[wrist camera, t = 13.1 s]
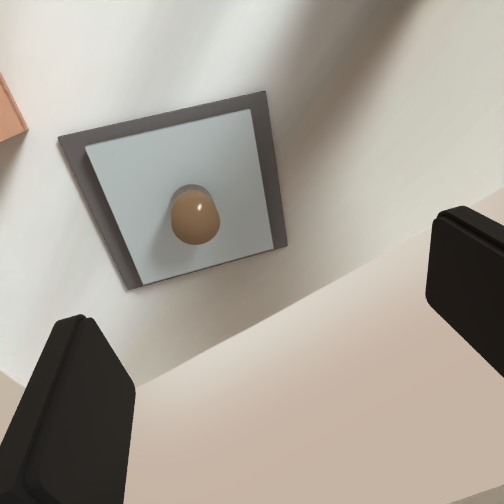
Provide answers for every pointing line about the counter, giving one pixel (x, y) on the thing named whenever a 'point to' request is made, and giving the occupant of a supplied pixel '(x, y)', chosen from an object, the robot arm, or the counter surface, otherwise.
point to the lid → (186, 194)
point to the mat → (78, 141)
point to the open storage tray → (9, 114)
